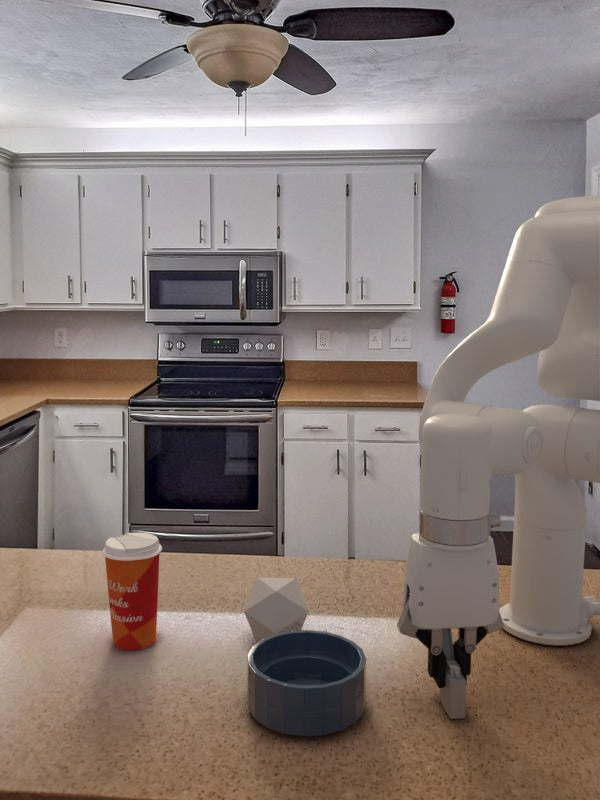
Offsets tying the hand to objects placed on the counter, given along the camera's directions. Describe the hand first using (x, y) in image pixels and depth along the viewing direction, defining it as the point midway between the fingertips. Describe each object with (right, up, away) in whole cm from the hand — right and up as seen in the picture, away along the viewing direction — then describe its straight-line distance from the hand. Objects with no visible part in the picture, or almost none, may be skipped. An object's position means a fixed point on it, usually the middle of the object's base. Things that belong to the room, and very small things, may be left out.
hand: (448, 680), depth 84 cm
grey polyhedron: (-20, 0, +16) cm, 26 cm away
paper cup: (-39, 0, +15) cm, 42 cm away
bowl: (-16, -3, -1) cm, 17 cm away
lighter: (0, -3, 0) cm, 3 cm away
